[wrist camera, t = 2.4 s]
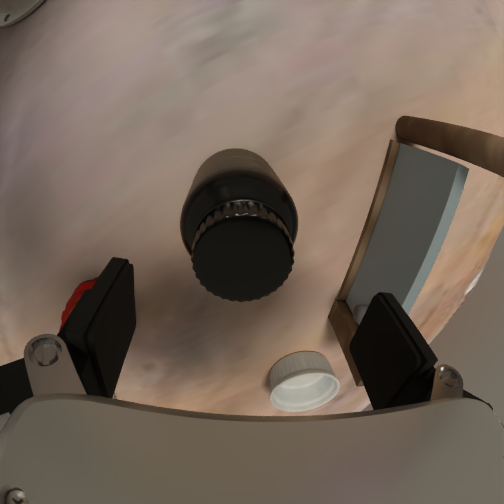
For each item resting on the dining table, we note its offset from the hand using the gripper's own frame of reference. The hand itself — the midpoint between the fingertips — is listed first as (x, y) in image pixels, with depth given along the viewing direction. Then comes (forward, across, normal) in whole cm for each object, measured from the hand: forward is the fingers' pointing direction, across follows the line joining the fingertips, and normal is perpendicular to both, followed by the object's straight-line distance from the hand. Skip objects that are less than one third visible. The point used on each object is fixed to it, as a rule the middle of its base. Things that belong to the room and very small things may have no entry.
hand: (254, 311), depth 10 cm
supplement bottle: (+15, +1, -1) cm, 15 cm away
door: (+15, -13, +1) cm, 19 cm away
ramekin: (+16, -11, +22) cm, 29 cm away
